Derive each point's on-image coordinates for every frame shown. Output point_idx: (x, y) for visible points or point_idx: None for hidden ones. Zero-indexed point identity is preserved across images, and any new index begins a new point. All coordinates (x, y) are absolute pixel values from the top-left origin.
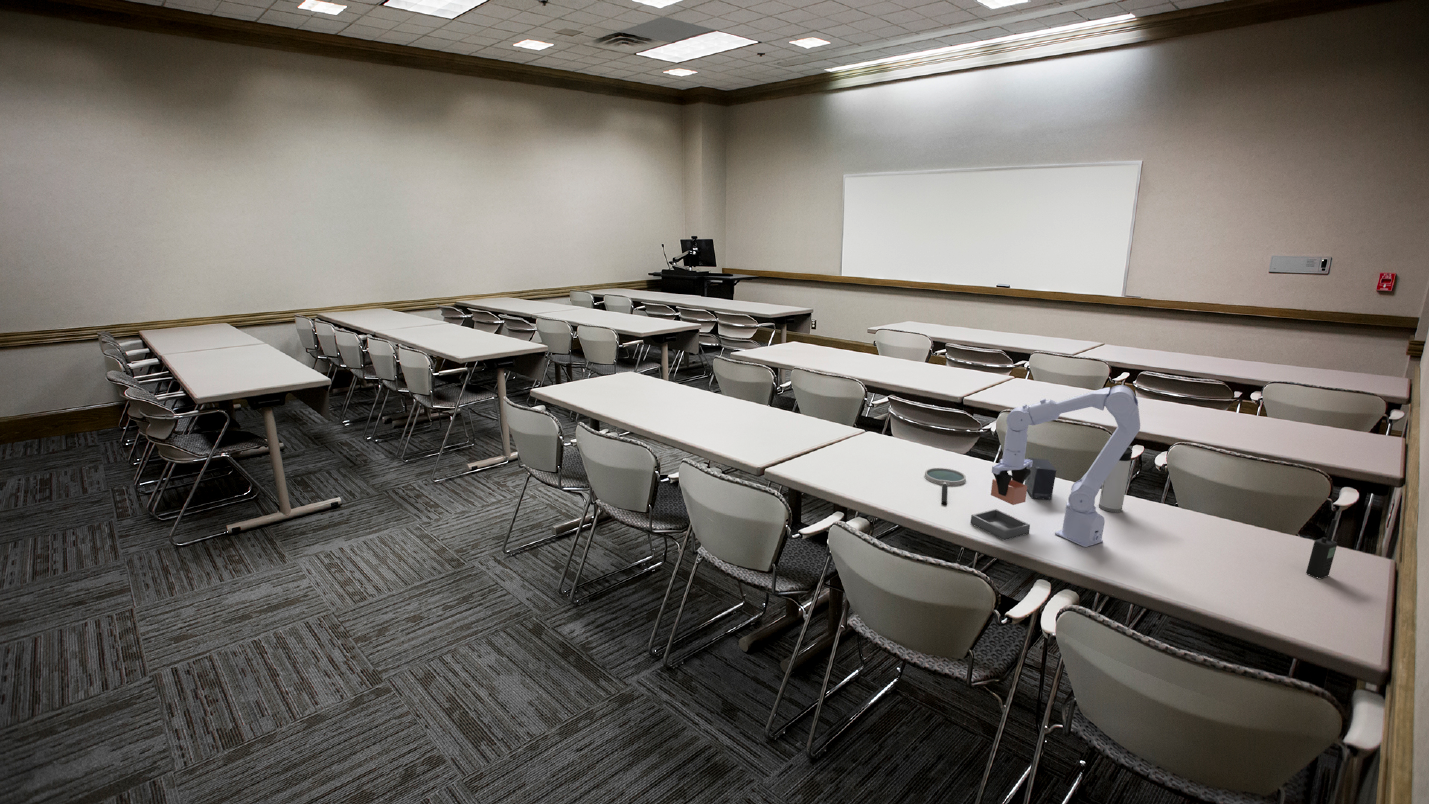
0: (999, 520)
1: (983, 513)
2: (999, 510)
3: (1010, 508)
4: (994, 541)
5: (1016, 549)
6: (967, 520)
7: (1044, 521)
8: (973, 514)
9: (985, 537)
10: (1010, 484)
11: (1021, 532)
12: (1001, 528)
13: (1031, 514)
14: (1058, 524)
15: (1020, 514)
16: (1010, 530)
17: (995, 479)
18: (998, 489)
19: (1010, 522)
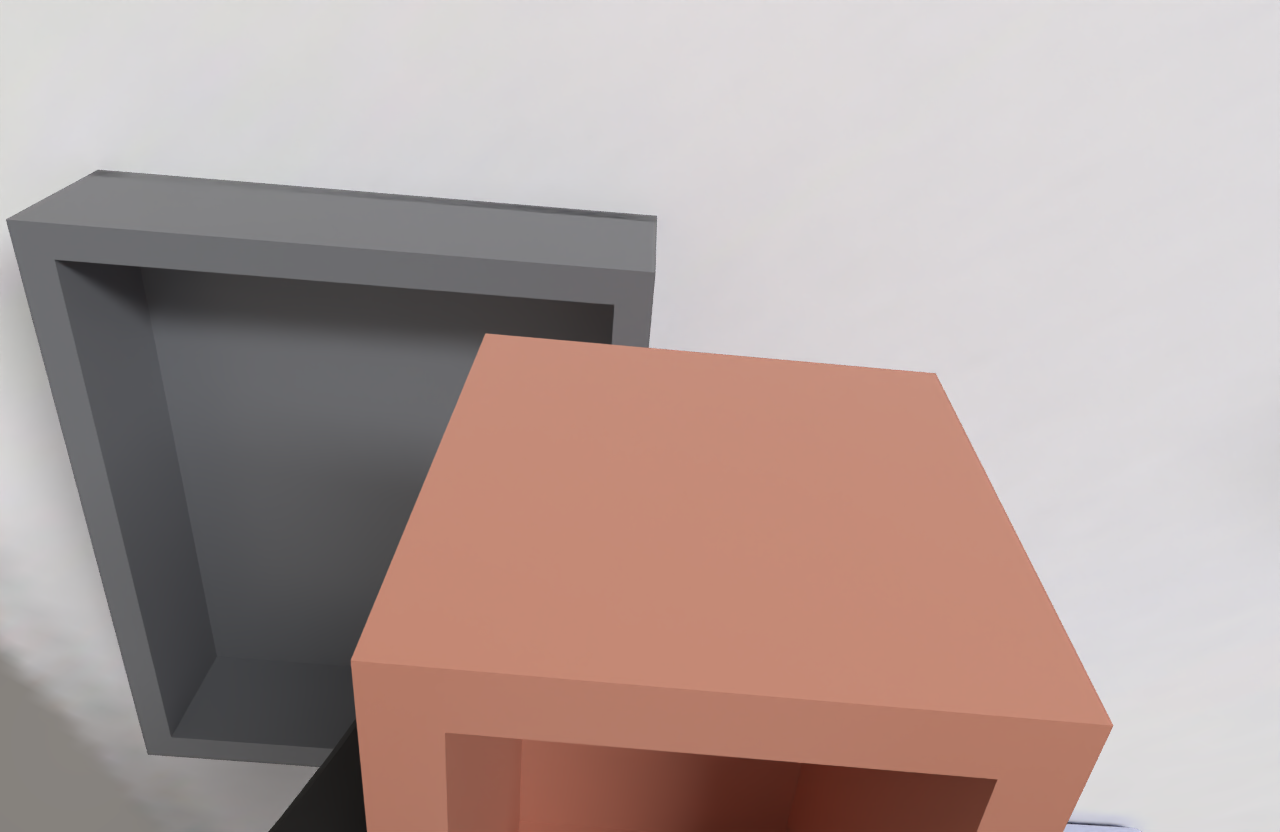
0: None
1: (289, 275)
2: None
3: (1237, 120)
4: (74, 631)
5: (184, 801)
6: (121, 64)
7: (1112, 616)
8: (54, 228)
9: (31, 534)
10: (886, 818)
11: None
12: (161, 697)
13: (1229, 427)
14: (1150, 721)
15: (1101, 350)
16: (249, 755)
17: (451, 720)
18: (348, 746)
19: None
